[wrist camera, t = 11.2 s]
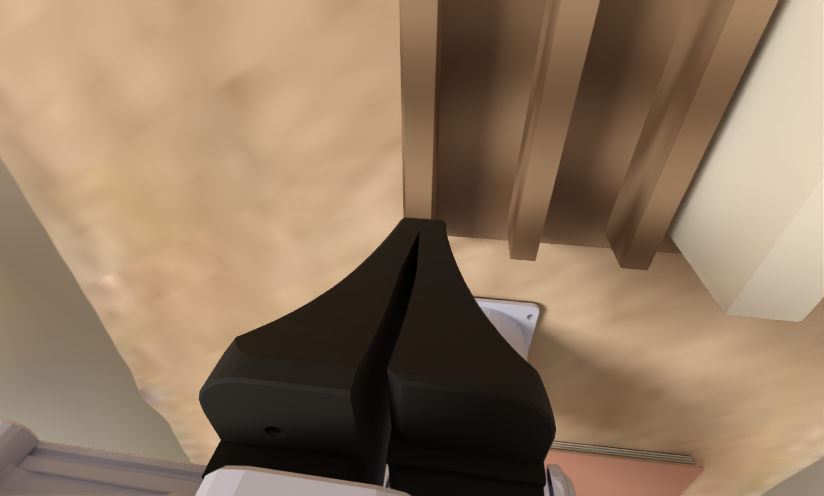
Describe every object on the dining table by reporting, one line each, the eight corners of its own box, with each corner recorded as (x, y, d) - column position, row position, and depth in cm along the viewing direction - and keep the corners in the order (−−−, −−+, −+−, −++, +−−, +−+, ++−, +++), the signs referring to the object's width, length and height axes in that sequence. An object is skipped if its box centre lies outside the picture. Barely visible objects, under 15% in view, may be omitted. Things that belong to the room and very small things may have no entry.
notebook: (407, 488, 48) (405, 506, 47) (399, 417, 38) (395, 436, 37) (637, 518, 45) (643, 538, 43) (694, 448, 34) (705, 472, 33)
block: (707, 216, 19) (800, 322, 14) (654, 213, 19) (725, 315, 14) (886, -110, 12) (1245, -172, 6) (797, -109, 12) (1066, -165, 7)
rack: (725, 246, 21) (769, 296, 18) (406, 223, 23) (395, 264, 20) (1020, -231, 11) (1242, -309, 8) (400, -200, 13) (375, -251, 10)
